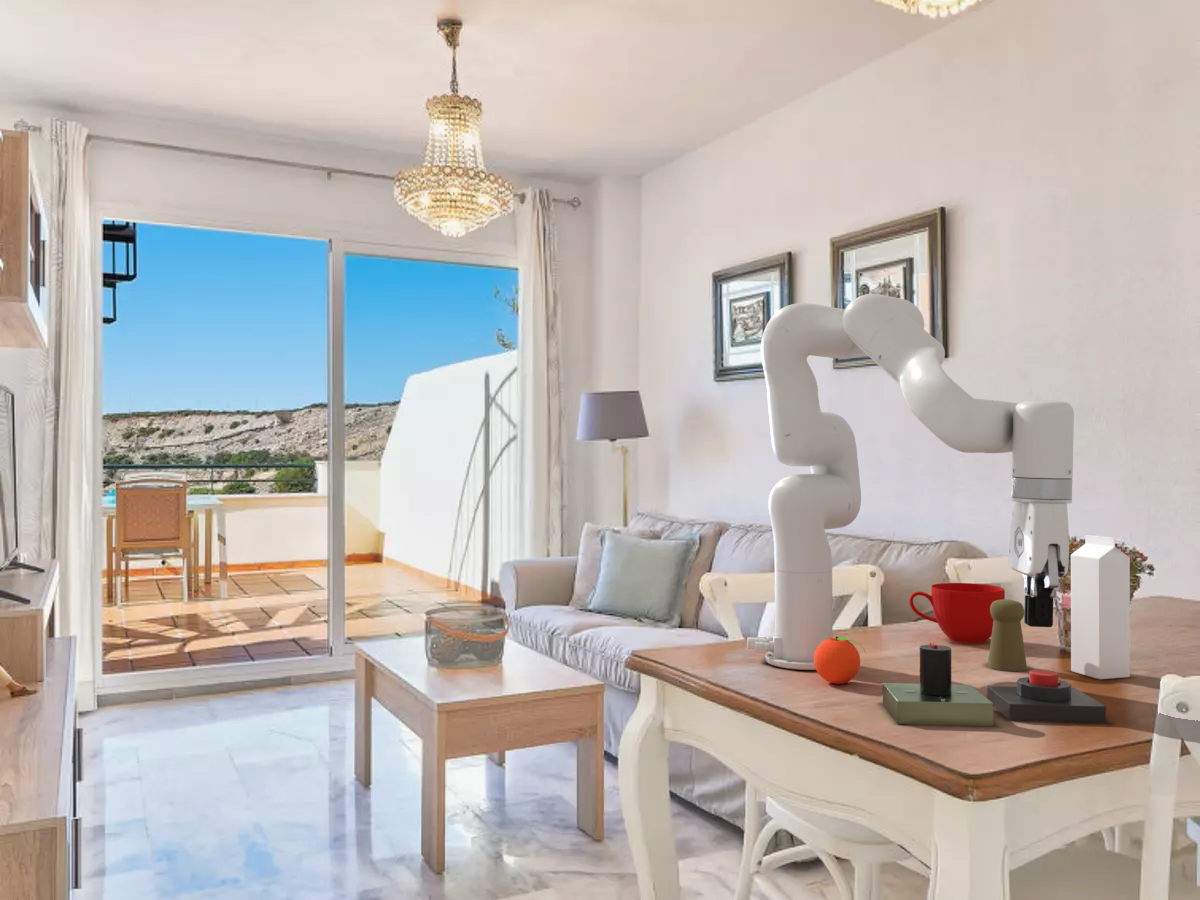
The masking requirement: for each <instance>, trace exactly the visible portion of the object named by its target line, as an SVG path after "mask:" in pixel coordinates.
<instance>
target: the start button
mask: <svg viewBox="0 0 1200 900" xmlns="http://www.w3.org/2000/svg"><path fill="white" fill-rule="evenodd" d="M1028 677H1029V683H1031V684H1034V685H1041V686H1058V680H1059V673H1058V672H1056V671H1053V670H1047V669H1032V670H1031V669H1030V670H1029V671H1028Z"/></svg>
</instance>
